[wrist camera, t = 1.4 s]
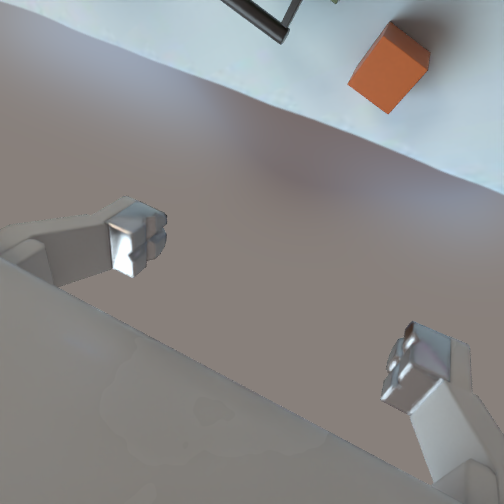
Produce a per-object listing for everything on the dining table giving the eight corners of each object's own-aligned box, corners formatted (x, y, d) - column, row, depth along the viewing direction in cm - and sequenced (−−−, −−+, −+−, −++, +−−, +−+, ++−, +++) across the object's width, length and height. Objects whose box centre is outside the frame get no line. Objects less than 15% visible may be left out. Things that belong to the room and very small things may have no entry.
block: (356, 67, 34) (347, 84, 31) (389, 20, 31) (383, 35, 28) (393, 95, 34) (387, 114, 31) (430, 52, 31) (428, 70, 28)
